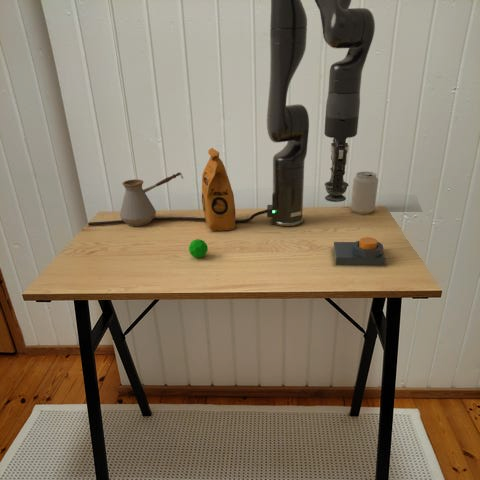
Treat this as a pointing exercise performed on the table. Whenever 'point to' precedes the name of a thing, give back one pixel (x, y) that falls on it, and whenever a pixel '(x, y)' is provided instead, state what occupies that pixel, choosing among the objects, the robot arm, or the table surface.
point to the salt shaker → (335, 195)
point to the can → (364, 192)
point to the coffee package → (217, 195)
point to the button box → (358, 254)
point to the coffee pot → (139, 202)
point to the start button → (368, 243)
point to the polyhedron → (198, 248)
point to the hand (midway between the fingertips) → (336, 186)
